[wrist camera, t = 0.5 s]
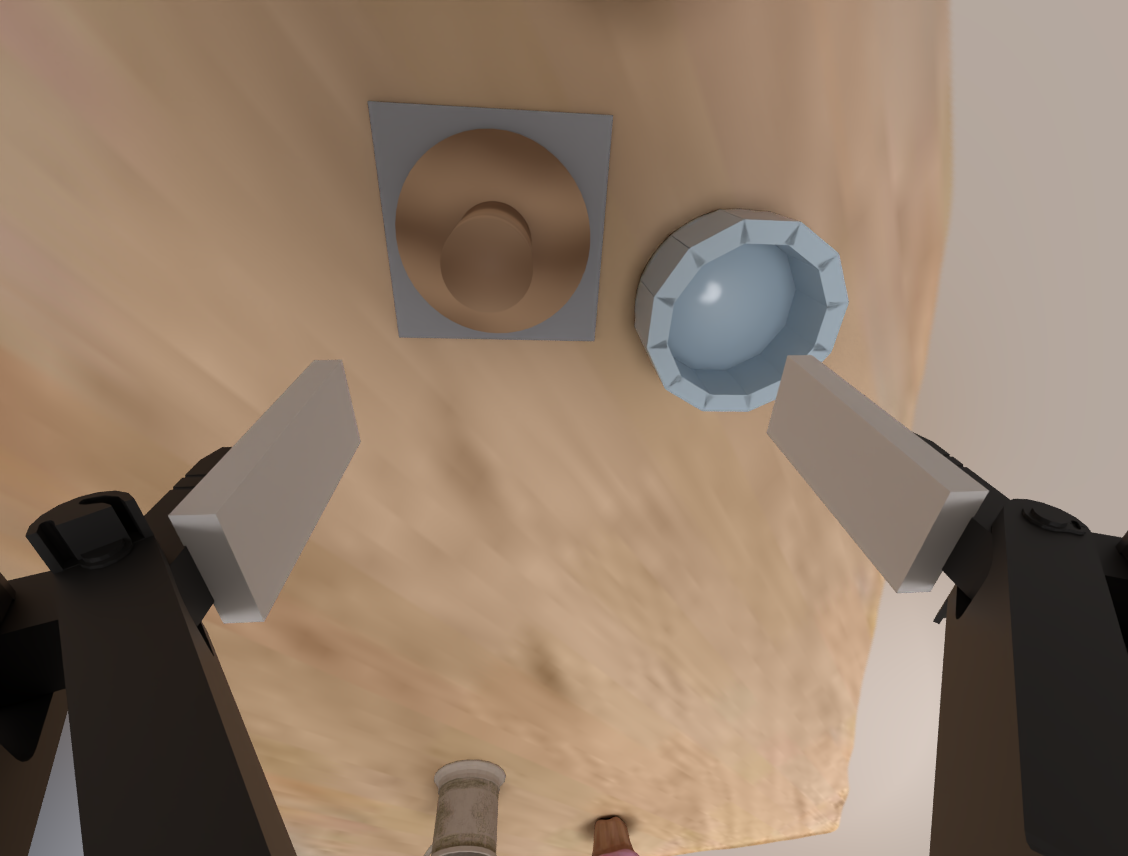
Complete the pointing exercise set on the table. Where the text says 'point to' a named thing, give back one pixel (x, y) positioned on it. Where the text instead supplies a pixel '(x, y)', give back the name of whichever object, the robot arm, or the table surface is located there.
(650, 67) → the table surface
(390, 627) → the table surface
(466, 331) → the mat
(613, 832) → the cupcake
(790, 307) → the bowl
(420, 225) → the lid
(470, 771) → the mug
